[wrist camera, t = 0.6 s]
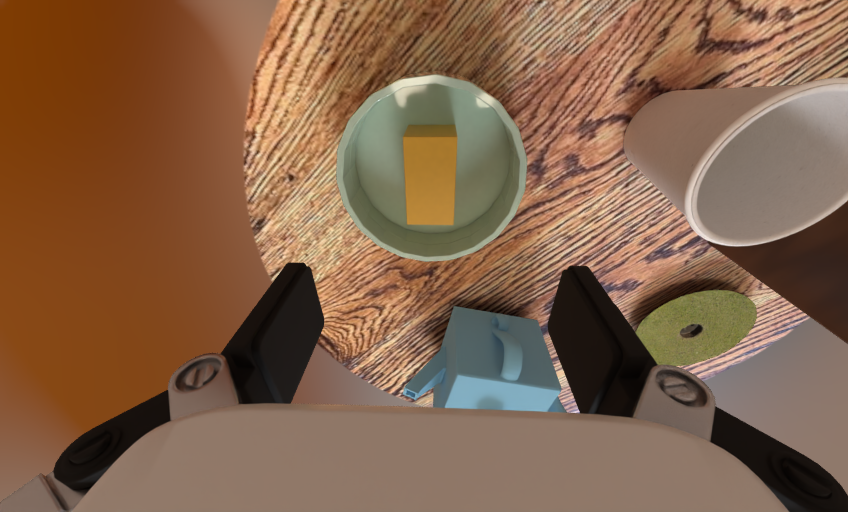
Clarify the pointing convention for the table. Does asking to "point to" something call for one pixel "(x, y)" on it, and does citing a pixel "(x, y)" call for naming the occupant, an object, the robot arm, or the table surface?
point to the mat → (697, 326)
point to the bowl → (475, 168)
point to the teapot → (490, 365)
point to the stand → (805, 269)
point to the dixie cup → (746, 157)
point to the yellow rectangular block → (430, 173)
